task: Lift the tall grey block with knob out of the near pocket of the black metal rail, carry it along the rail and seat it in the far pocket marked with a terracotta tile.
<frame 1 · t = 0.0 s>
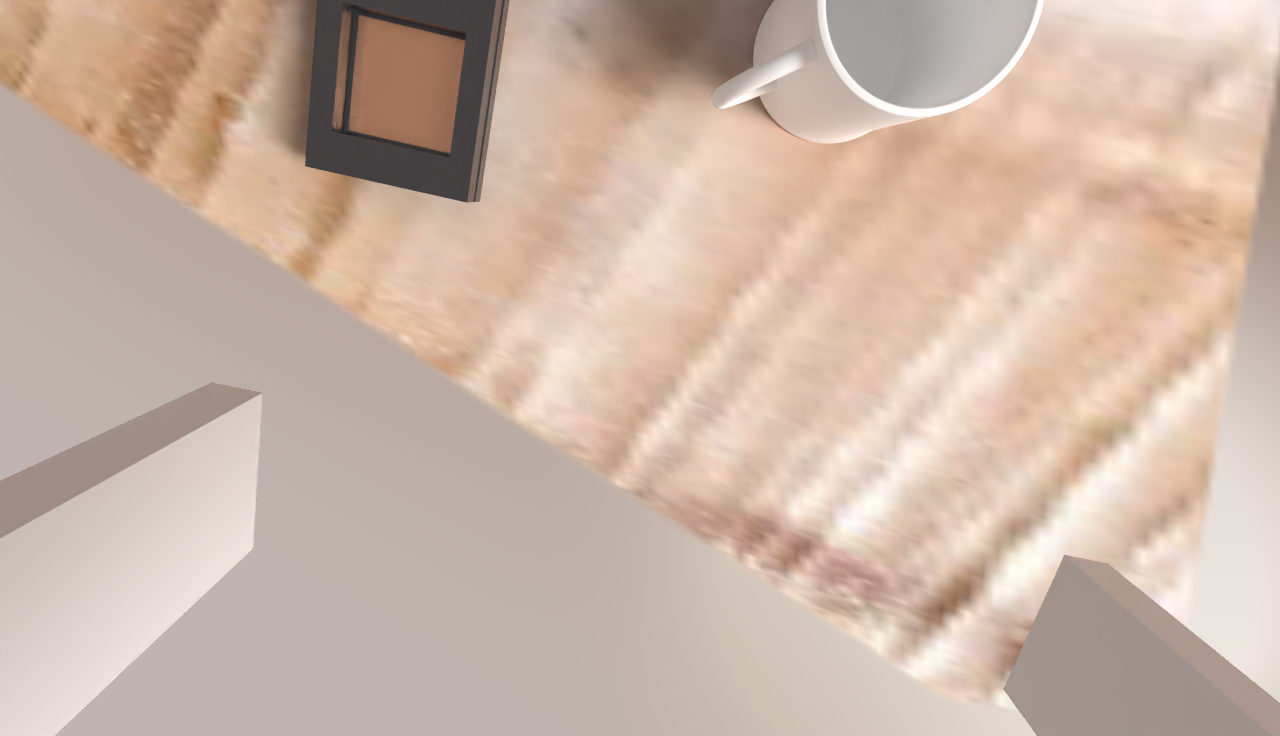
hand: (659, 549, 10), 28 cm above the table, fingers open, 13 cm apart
mug: (801, 68, 34), on the table
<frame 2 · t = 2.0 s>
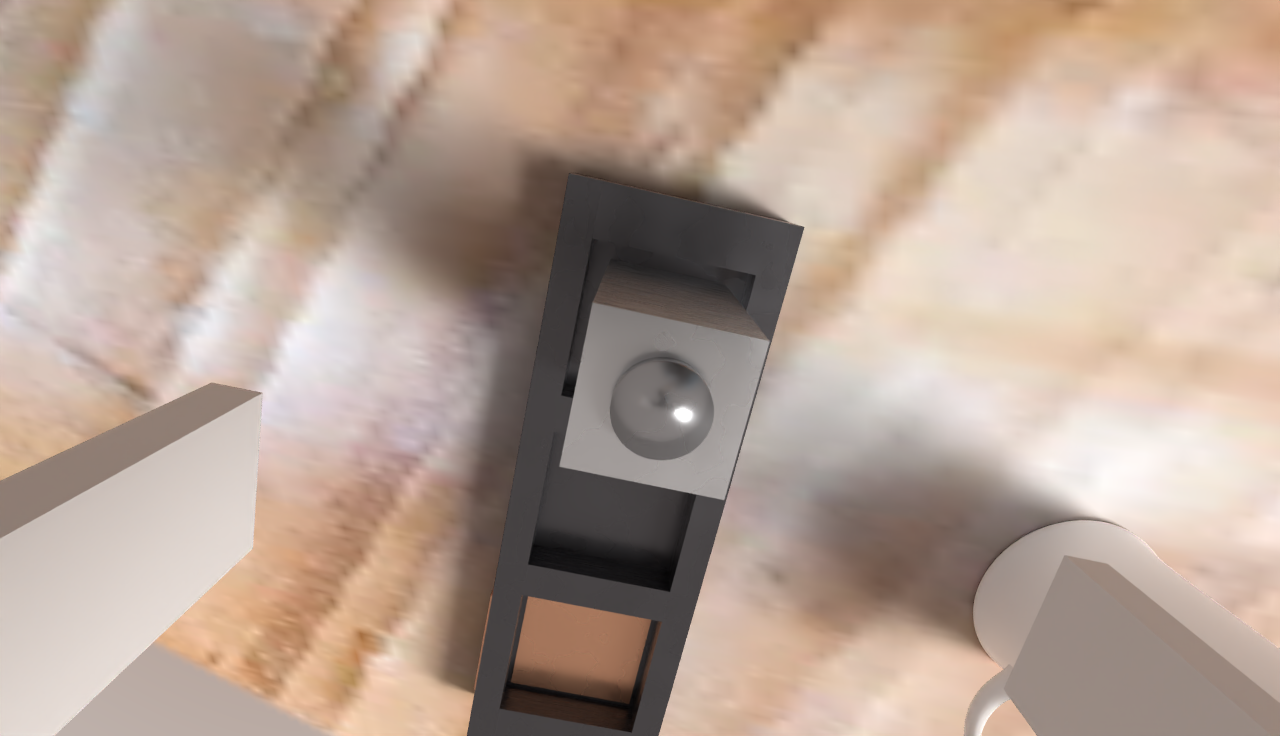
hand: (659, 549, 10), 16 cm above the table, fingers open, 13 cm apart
grey block with knob: (655, 328, 25), point 1 cm above the table, touching rail
rail: (616, 486, 28), on the table
mug: (1026, 606, 30), on the table
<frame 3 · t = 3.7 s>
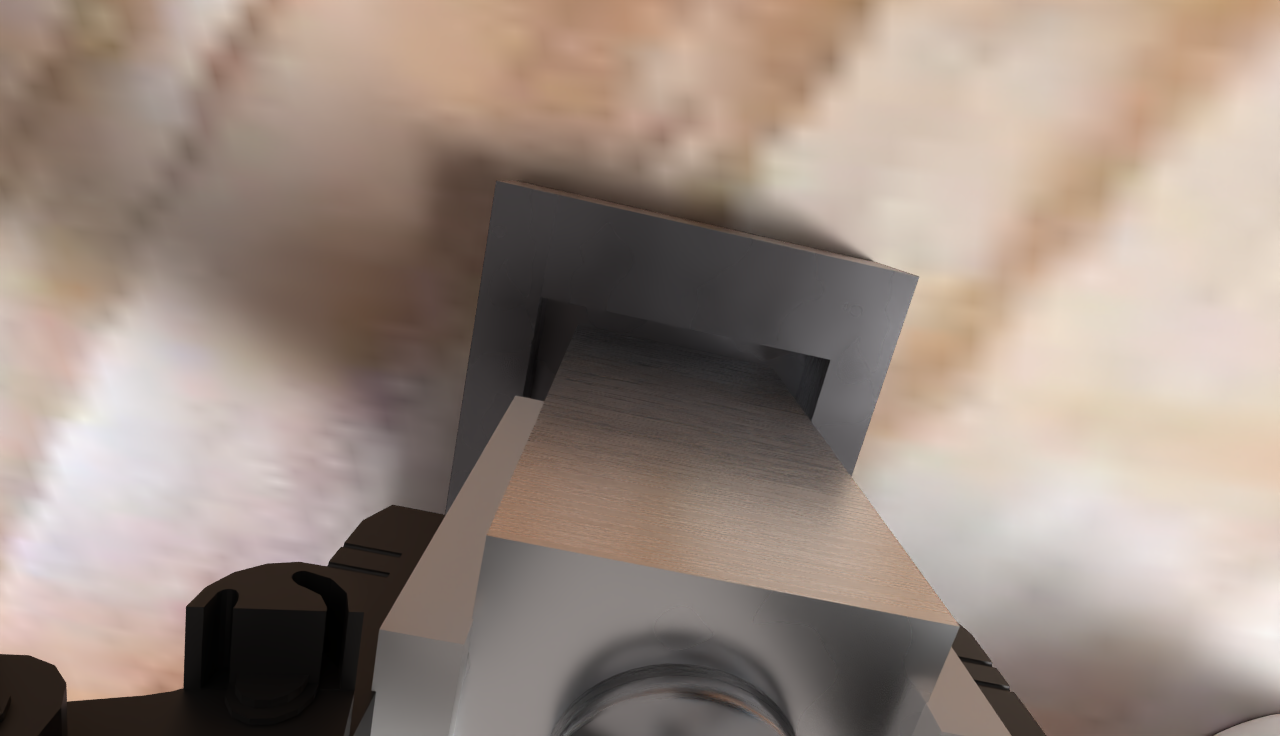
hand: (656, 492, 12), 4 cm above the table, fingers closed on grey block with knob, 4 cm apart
grey block with knob: (653, 436, 15), point 1 cm above the table, touching gripper, rail
rail: (593, 665, 18), on the table
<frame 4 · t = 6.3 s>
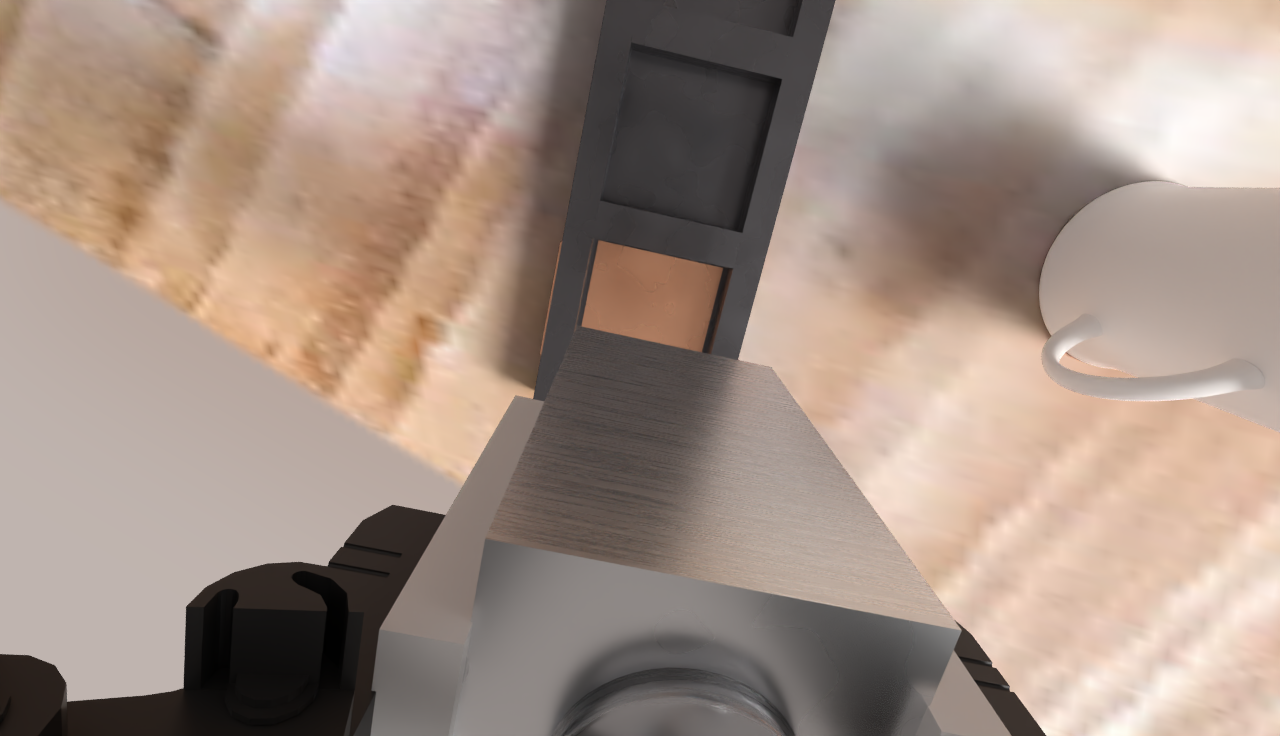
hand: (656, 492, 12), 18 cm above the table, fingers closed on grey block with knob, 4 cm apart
grey block with knob: (653, 437, 15), point 15 cm above the table, touching gripper
rail: (684, 144, 28), on the table
mug: (1092, 287, 30), on the table
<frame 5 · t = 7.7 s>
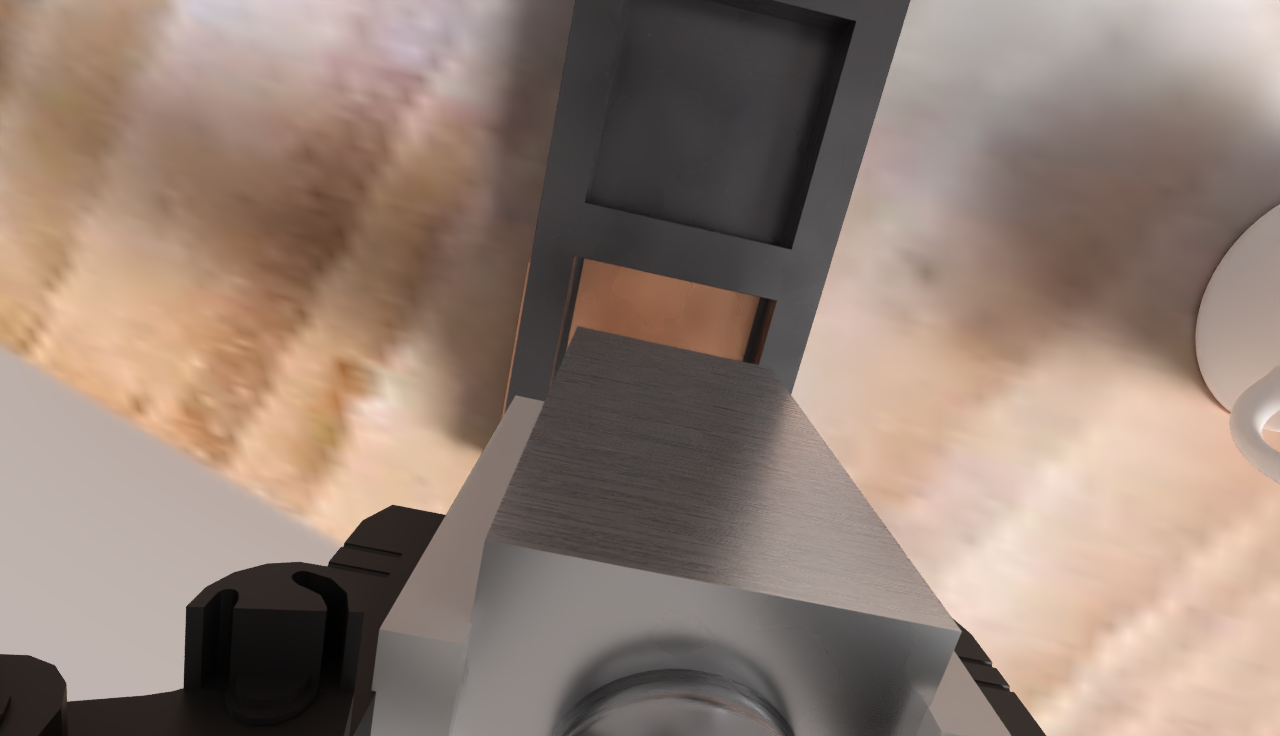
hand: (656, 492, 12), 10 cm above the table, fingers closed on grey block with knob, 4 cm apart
grey block with knob: (653, 437, 15), point 7 cm above the table, touching gripper
rail: (706, 123, 20), on the table
mug: (1267, 322, 22), on the table
when the fingers open (5 cm above the table, at t = 9.0 s): grey block with knob stays where it is, resting on rail.
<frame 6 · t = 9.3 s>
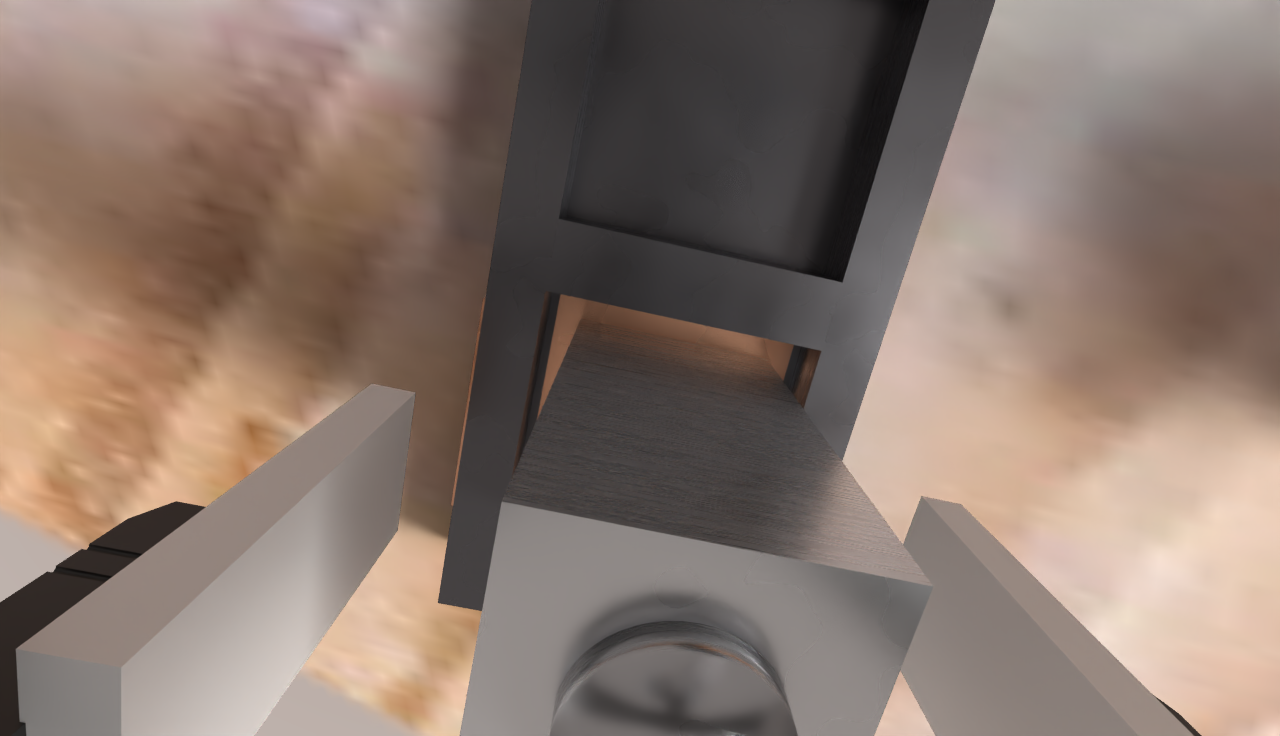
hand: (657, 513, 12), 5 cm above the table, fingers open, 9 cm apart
grey block with knob: (653, 426, 16), point 1 cm above the table, touching rail
rail: (723, 111, 15), on the table
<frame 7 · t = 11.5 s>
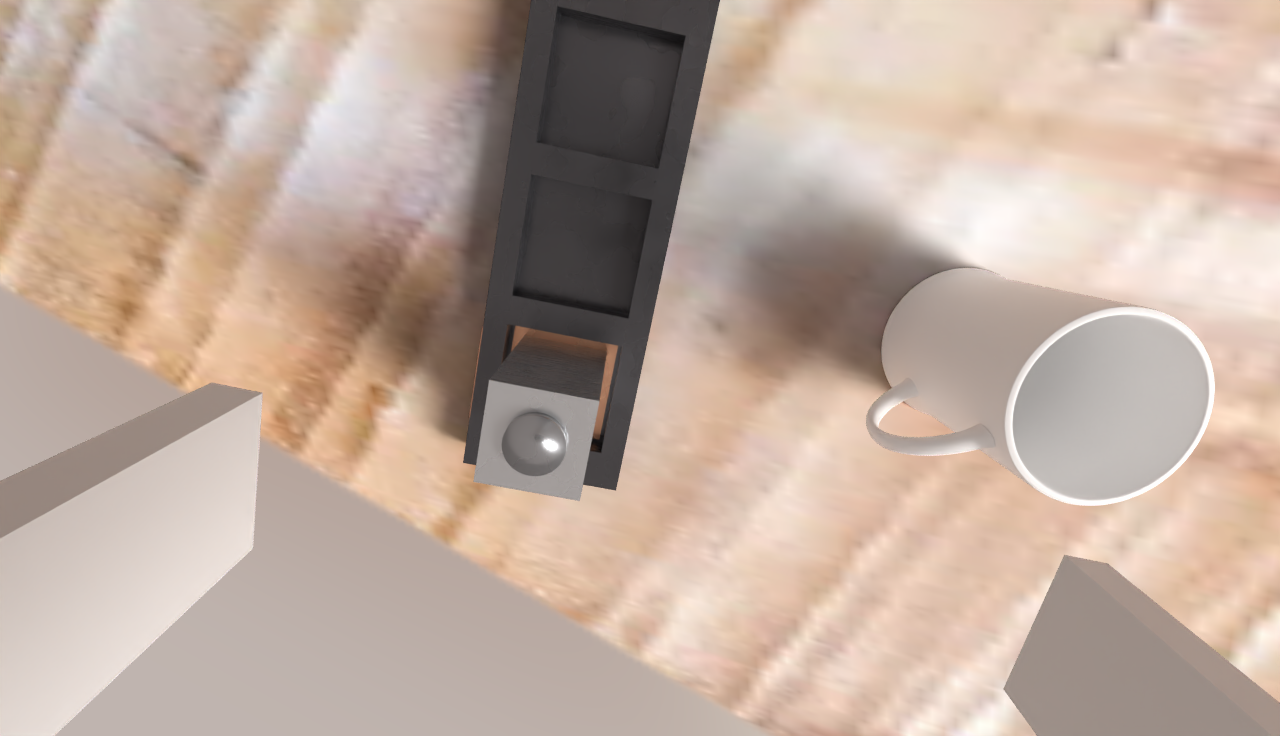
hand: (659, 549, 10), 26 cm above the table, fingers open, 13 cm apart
grey block with knob: (558, 382, 35), point 1 cm above the table, touching rail
rail: (584, 245, 34), on the table
mug: (925, 351, 36), on the table
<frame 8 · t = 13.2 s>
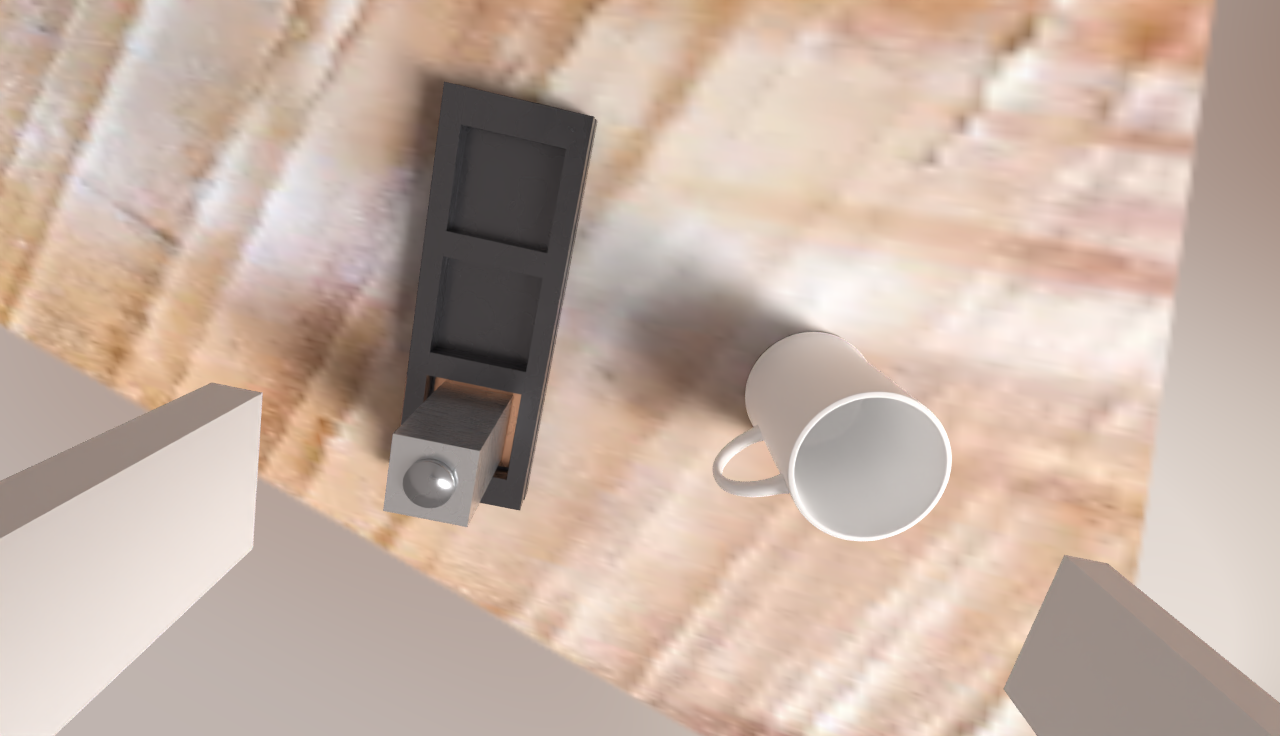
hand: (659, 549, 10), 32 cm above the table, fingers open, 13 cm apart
grey block with knob: (473, 420, 42), point 1 cm above the table, touching rail
rail: (494, 308, 41), on the table
mug: (783, 399, 43), on the table
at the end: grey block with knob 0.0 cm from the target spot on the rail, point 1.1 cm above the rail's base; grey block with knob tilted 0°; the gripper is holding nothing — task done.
